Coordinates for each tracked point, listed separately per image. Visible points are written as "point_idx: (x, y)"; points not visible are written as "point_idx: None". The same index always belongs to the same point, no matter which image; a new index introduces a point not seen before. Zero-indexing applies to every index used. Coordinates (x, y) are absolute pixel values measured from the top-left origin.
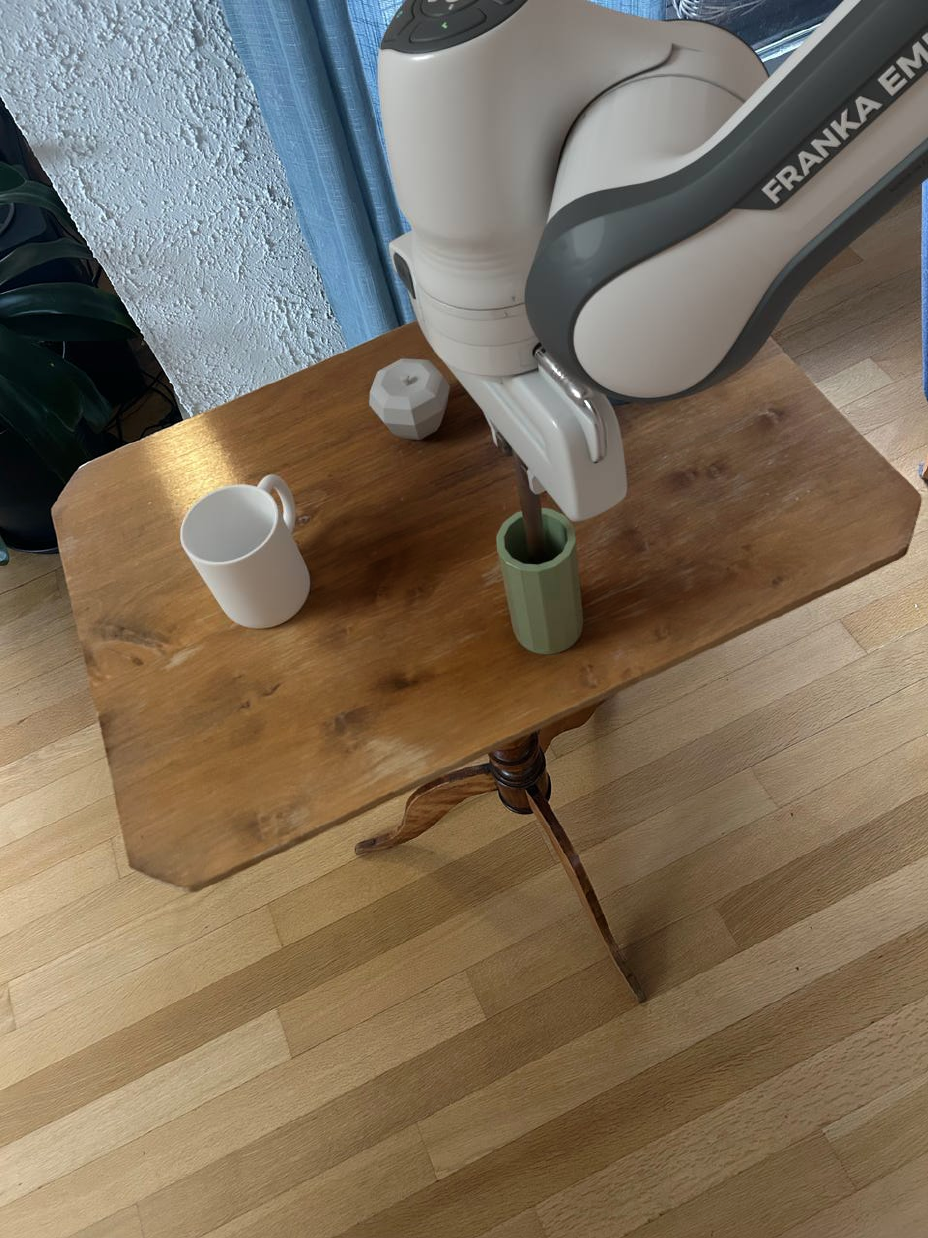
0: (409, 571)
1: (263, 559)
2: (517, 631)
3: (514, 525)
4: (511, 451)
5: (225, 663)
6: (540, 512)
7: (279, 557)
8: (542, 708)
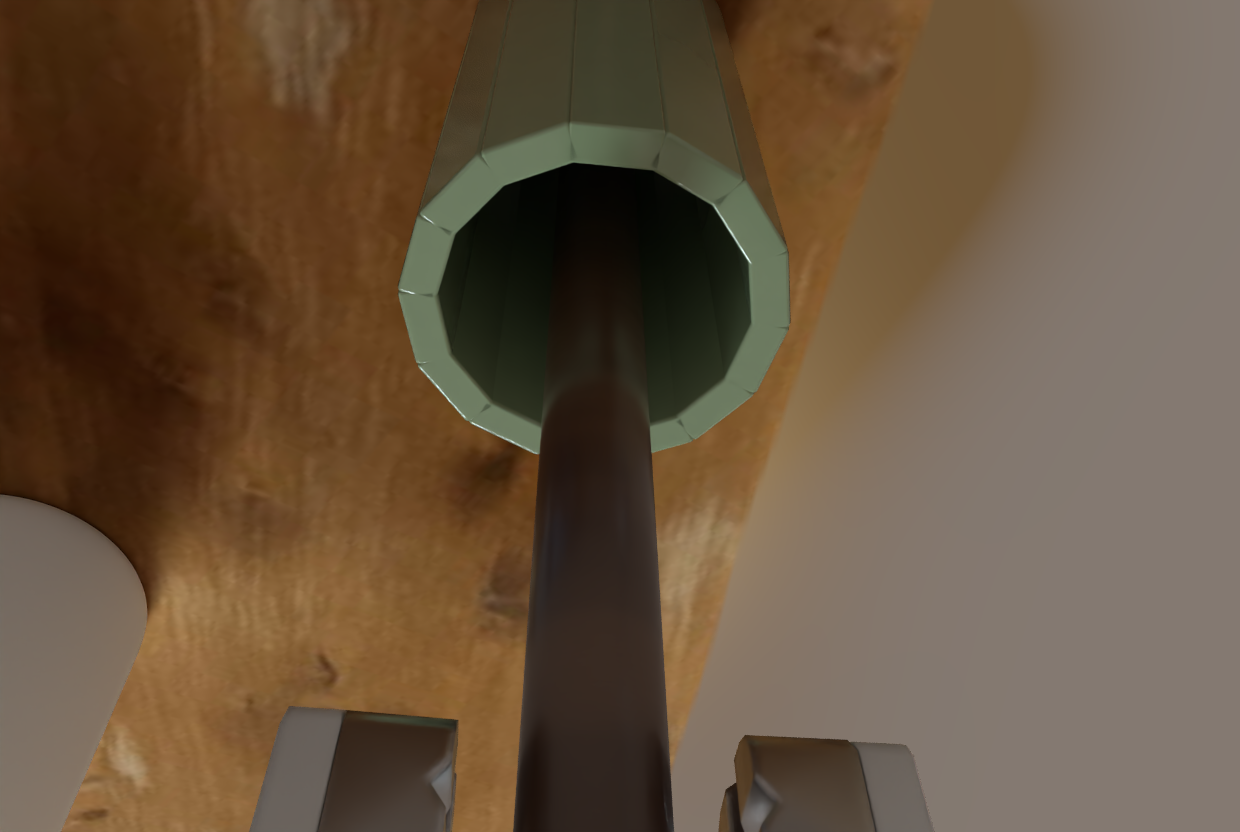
0: (135, 276)
1: (33, 806)
2: None
3: (448, 316)
4: (452, 816)
5: (195, 709)
6: (645, 427)
7: (22, 733)
8: (826, 236)
